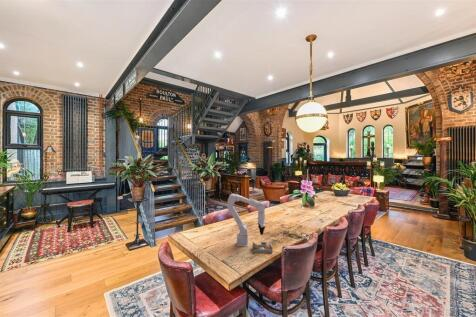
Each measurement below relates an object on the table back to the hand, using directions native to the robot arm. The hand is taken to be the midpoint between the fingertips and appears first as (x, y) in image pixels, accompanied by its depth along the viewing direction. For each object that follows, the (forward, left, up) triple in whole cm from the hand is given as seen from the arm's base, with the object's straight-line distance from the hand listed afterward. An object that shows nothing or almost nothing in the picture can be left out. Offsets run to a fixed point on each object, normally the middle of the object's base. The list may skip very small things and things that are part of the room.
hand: (261, 232), depth 173 cm
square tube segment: (+2, -3, -10) cm, 10 cm away
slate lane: (0, -10, -10) cm, 14 cm away
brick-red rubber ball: (+4, -12, -8) cm, 14 cm away
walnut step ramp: (-4, -11, -10) cm, 15 cm away
